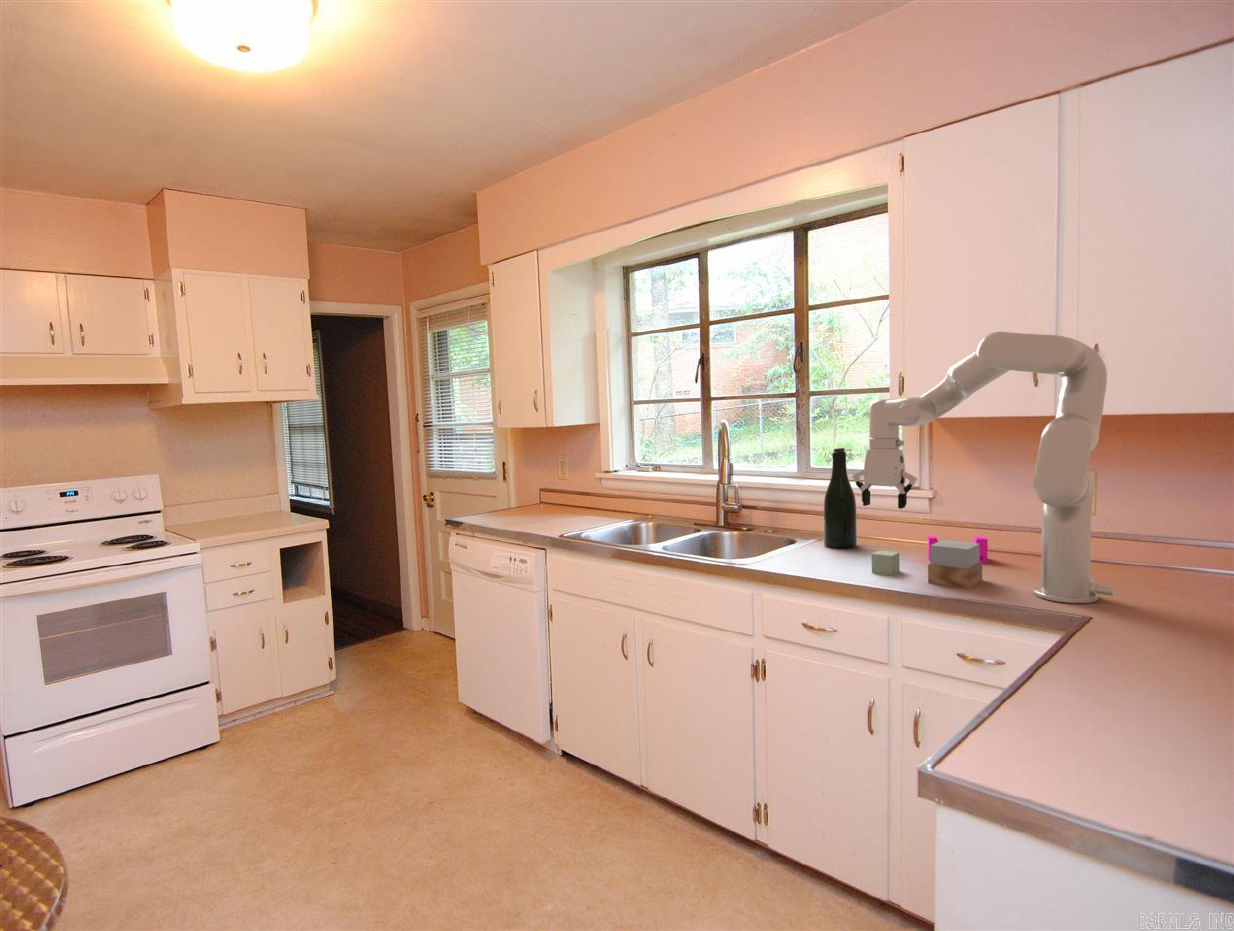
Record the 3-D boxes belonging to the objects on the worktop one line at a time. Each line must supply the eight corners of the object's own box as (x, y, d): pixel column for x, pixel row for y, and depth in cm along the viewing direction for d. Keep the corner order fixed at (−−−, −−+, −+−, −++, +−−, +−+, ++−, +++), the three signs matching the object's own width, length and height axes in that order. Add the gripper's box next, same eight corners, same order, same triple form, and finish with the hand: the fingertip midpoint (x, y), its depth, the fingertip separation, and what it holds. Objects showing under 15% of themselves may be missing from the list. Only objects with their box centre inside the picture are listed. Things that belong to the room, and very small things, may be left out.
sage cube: (899, 572, 185) (899, 552, 184) (891, 576, 181) (891, 556, 181) (879, 569, 189) (879, 550, 188) (871, 573, 185) (871, 553, 184)
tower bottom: (982, 581, 172) (982, 562, 172) (970, 589, 165) (970, 570, 165) (941, 576, 179) (941, 558, 179) (928, 584, 172) (928, 564, 172)
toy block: (983, 560, 195) (983, 535, 194) (987, 565, 189) (987, 539, 189) (927, 558, 200) (927, 534, 200) (929, 563, 194) (929, 537, 194)
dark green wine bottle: (824, 544, 227) (822, 447, 224) (857, 544, 223) (855, 446, 221) (823, 550, 217) (821, 449, 214) (857, 551, 213) (856, 448, 211)
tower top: (979, 562, 172) (979, 543, 172) (968, 569, 166) (968, 549, 165) (942, 558, 178) (942, 540, 178) (930, 564, 172) (930, 545, 172)
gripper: (921, 444, 179) (921, 507, 180) (859, 443, 191) (859, 502, 192) (911, 445, 174) (910, 511, 175) (847, 444, 186) (847, 505, 187)
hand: (883, 506), depth 184 cm, fingers open, 9 cm apart
